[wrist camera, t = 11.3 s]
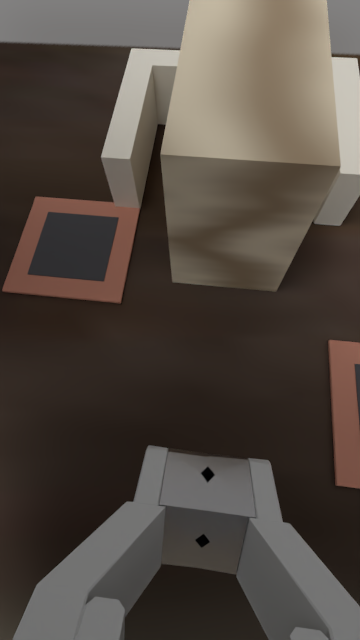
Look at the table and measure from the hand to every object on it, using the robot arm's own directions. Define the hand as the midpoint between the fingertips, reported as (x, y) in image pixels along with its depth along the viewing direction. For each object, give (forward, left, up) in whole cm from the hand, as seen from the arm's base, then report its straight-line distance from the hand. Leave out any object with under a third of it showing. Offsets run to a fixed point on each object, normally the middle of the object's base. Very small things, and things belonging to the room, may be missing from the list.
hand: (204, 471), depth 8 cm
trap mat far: (-9, +11, -8) cm, 16 cm away
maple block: (+1, +16, -8) cm, 18 cm away
